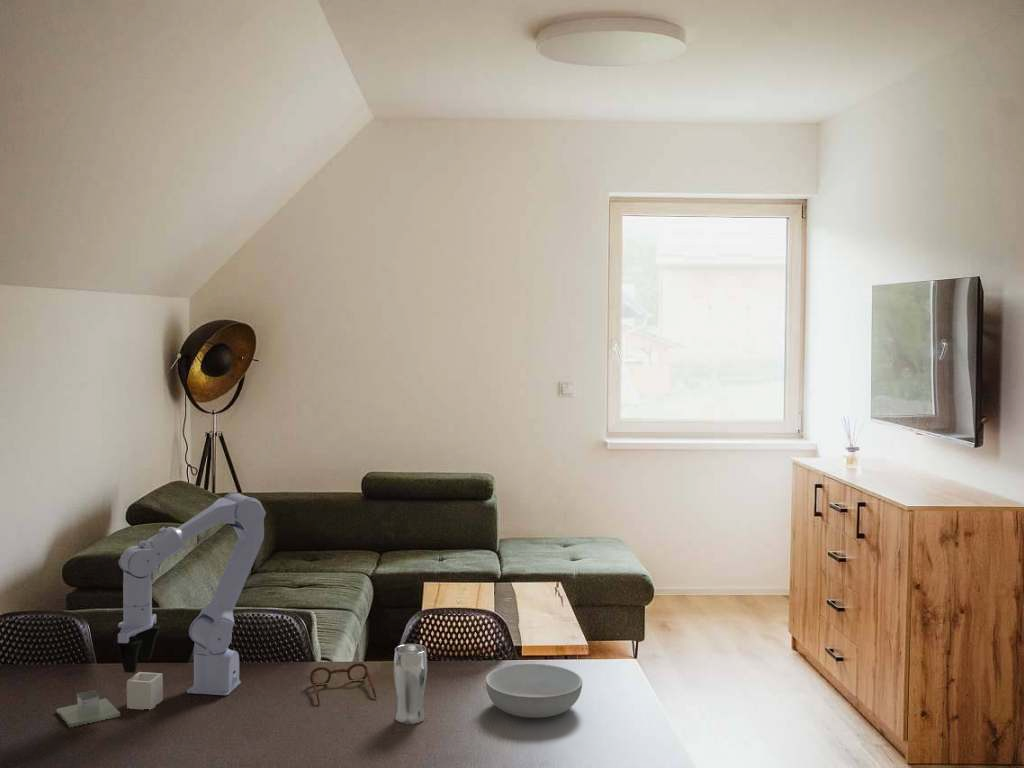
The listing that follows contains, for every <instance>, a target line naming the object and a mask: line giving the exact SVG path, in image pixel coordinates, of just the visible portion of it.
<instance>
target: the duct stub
mask: <svg viewBox="0 0 1024 768" xmlns="http://www.w3.org/2000/svg"><path fill="white" fill-rule="evenodd" d="M76 696H77V698H76V700H77V701H76V702H77V704H73V705H67V706H63V707H59V708H56V714H57V715H58V714H59V715H58V716H59V717H60V718H61V719H62V720H64V721H65V722H66V723H65V722H64V721H63V722H64V723H65V724H66V725H67V727H68V726H69V727H68V728H69V729H72V728H75V727H74V726H76V727H80V726H79V725H81V726H83V725H82V724H85V725H88V724H87V723H90V724H93V723H92V722H94V723H98V722H102V720H103V721H107V720H110V719H115V718H119V717H121V712H120V711H119V710H118V709H117V707H115V706H114V705H113V704H112V703H111V701H110V700H109V699H107V698H106V697H105V698H100V693H98V692H97V691H96V690H95V689H94V690H93V689H92V690H87V691H84V692H83V691H82V692H78V693H76ZM106 719H107V720H106ZM97 721H98V722H97ZM71 727H72V728H71Z"/></svg>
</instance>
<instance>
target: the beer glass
mask: <svg viewBox="0 0 1024 768" xmlns="http://www.w3.org/2000/svg"><path fill="white" fill-rule="evenodd" d="M427 676H428V656H427V647H426V646H425V645H422V644H418V643H405V644H400V645H398V646H396V647H395V648H394V658H393V677H394V685H395V693H396V699H397V709H396V714H395V721H396V720H397V721H399V722H401V723H408V724H410V725H413V724H412V723H417V722H420V723H422V722H424V721H425V719H426V715H425V710H424V695H425V690H426V685H427V678H428V677H427ZM423 720H424V721H423ZM397 721H396V722H397ZM421 721H422V722H421ZM399 722H398V723H399ZM401 723H400V724H401ZM408 724H407V725H408Z"/></svg>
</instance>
